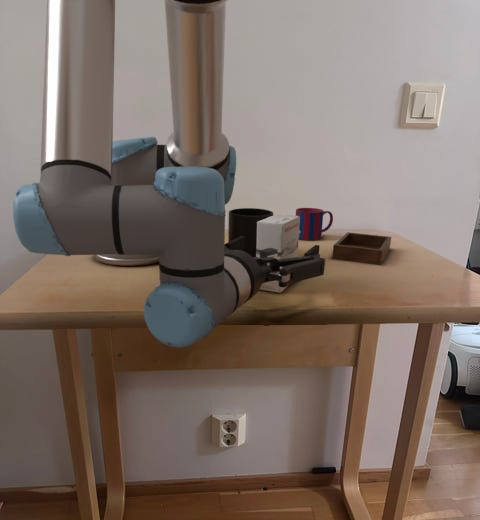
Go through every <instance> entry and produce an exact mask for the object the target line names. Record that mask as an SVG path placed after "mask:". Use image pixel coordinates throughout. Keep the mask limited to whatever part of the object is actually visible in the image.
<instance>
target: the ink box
mask: <svg viewBox="0 0 480 520" xmlns="http://www.w3.org/2000/svg"><path fill="white" fill-rule="evenodd" d="M299 225H300V217H299V216H296V215H289V214H273V216H271V217H268V218H266V219H263V220H261V221H258V222H257V250H256V257H258V258H266V257H273V258H275V259H285V258H294V257H298V254H299V253H298V252H299V241H300V239H299ZM266 264H267V265H268V266H269V263H266ZM288 287H290V285H288V286H287V287H279V281H276V280H275V281H270V282H267V283H263V284H262V285H261V287H260V289H259V290H261V291H267V292H274V293H277V294H279V293H282V292H283V291H285V290H286V289H287V288H288Z"/></svg>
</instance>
